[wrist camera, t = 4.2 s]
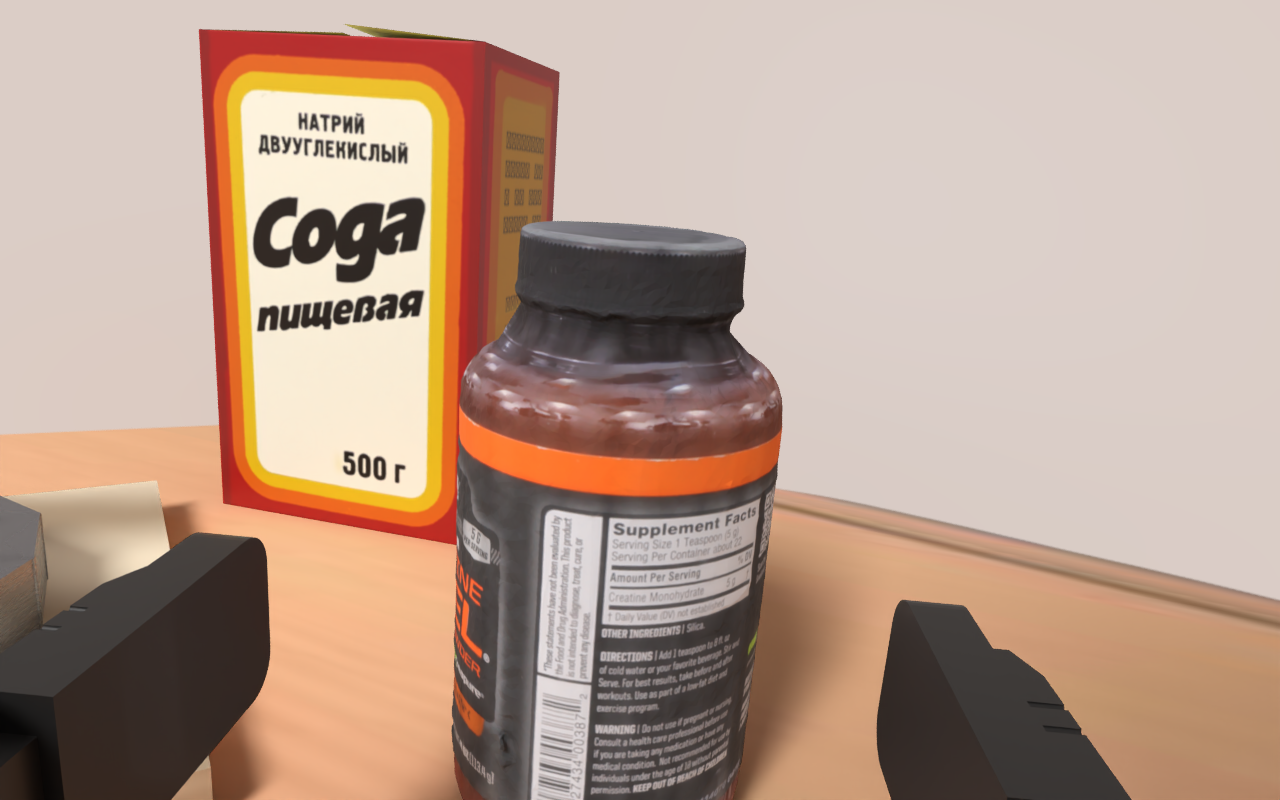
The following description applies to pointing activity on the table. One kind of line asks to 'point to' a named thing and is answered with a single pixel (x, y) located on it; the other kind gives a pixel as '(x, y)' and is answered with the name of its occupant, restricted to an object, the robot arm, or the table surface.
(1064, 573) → the table surface
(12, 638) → the ring collar
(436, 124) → the baking soda box
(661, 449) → the supplement bottle
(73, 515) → the birch board
